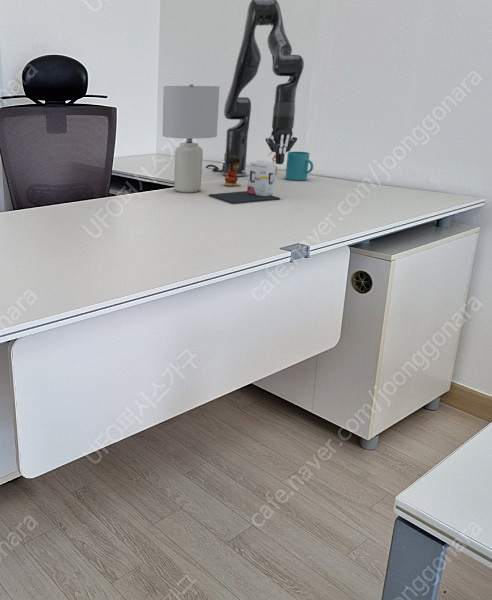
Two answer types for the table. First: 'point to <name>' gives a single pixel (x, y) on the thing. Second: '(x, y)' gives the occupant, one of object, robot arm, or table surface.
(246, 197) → the mat
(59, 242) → the table surface
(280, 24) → the robot arm
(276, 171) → the figurine
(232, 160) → the figurine
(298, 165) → the cup
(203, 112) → the lamp
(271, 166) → the ink box
